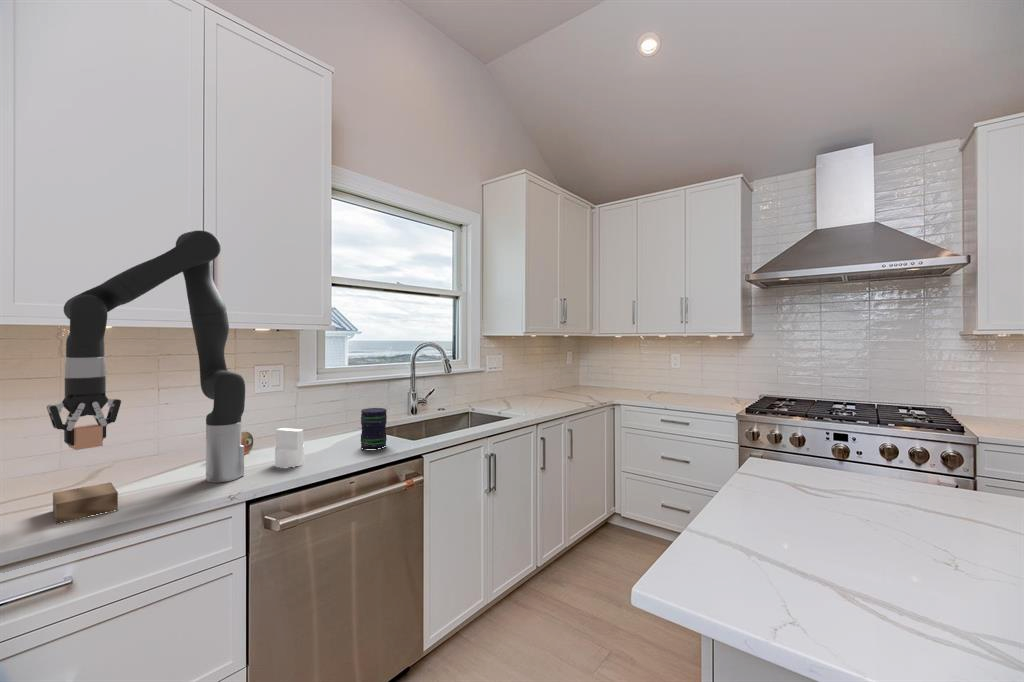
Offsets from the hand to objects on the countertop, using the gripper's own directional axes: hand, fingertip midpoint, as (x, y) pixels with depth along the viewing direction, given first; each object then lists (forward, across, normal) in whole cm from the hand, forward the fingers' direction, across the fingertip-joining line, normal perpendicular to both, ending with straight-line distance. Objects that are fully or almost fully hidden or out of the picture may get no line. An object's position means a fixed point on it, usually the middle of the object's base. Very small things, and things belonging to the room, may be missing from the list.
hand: (85, 442), depth 114 cm
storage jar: (+17, -84, +11) cm, 87 cm away
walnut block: (+18, 0, 0) cm, 18 cm away
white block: (+17, -52, +5) cm, 55 cm away
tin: (+17, -47, -20) cm, 54 cm away
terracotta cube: (+1, 0, 0) cm, 1 cm away
